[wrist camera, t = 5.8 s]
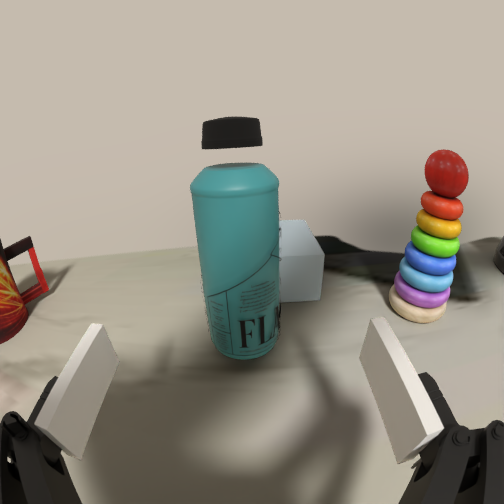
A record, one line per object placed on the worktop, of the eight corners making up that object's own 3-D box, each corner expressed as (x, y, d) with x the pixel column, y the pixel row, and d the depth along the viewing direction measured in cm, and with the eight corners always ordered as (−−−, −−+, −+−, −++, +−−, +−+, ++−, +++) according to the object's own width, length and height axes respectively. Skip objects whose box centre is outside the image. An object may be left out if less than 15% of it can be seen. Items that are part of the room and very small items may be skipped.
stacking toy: (378, 312, 28) (403, 142, 20) (396, 283, 34) (416, 143, 26) (438, 334, 23) (482, 158, 15) (446, 300, 29) (476, 156, 21)
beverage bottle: (239, 384, 21) (216, 112, 12) (198, 343, 26) (167, 124, 17) (294, 348, 24) (301, 115, 16) (250, 317, 29) (240, 119, 21)
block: (320, 300, 31) (324, 254, 29) (218, 304, 32) (213, 258, 29) (302, 256, 42) (304, 219, 40) (226, 259, 42) (223, 222, 40)
